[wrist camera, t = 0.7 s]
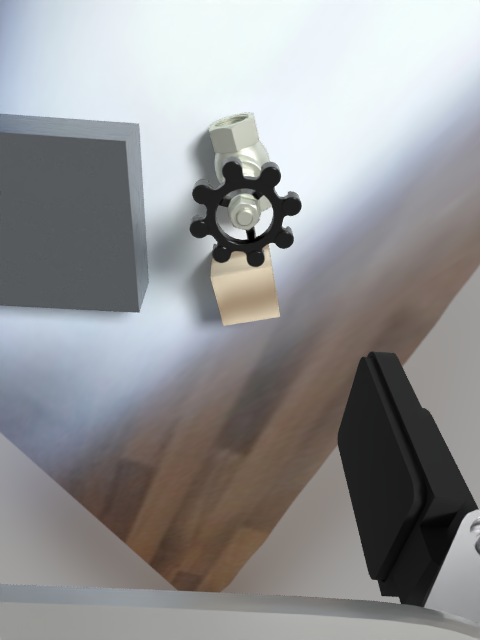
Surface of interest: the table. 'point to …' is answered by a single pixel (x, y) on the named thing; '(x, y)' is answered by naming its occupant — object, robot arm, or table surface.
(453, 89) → the table surface
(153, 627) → the robot arm
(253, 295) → the pale wood block
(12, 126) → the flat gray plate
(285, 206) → the valve
